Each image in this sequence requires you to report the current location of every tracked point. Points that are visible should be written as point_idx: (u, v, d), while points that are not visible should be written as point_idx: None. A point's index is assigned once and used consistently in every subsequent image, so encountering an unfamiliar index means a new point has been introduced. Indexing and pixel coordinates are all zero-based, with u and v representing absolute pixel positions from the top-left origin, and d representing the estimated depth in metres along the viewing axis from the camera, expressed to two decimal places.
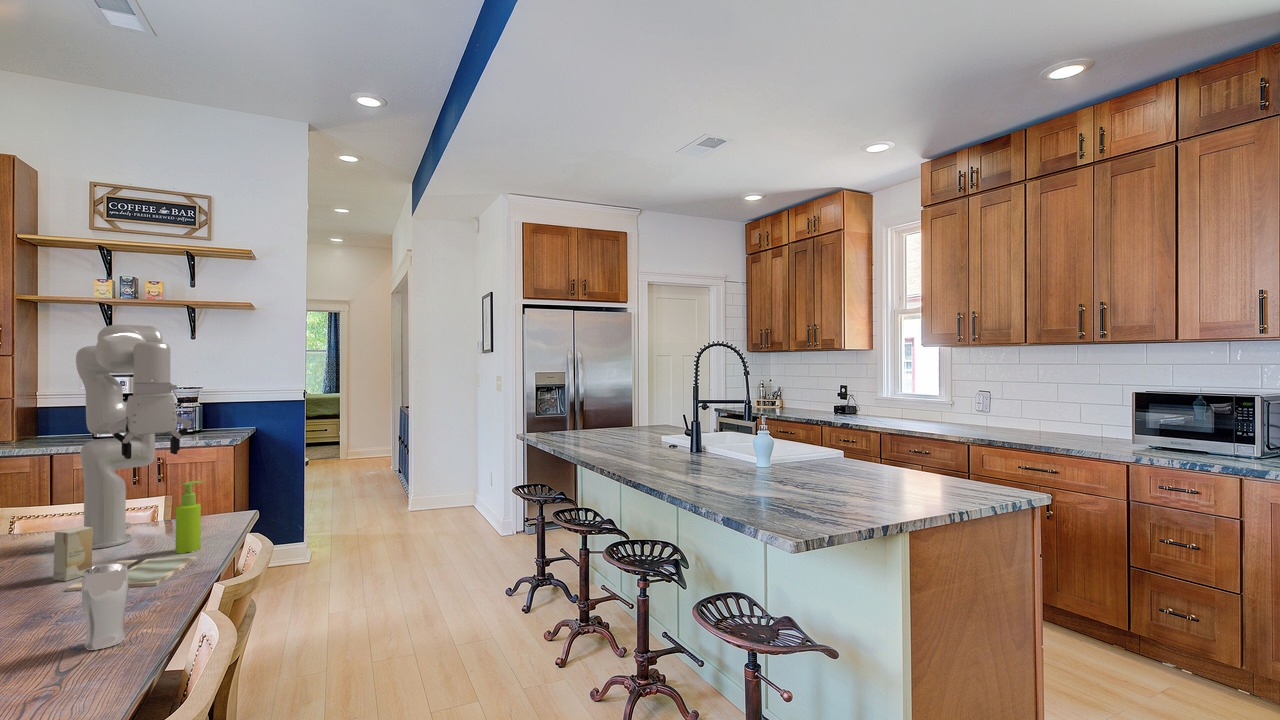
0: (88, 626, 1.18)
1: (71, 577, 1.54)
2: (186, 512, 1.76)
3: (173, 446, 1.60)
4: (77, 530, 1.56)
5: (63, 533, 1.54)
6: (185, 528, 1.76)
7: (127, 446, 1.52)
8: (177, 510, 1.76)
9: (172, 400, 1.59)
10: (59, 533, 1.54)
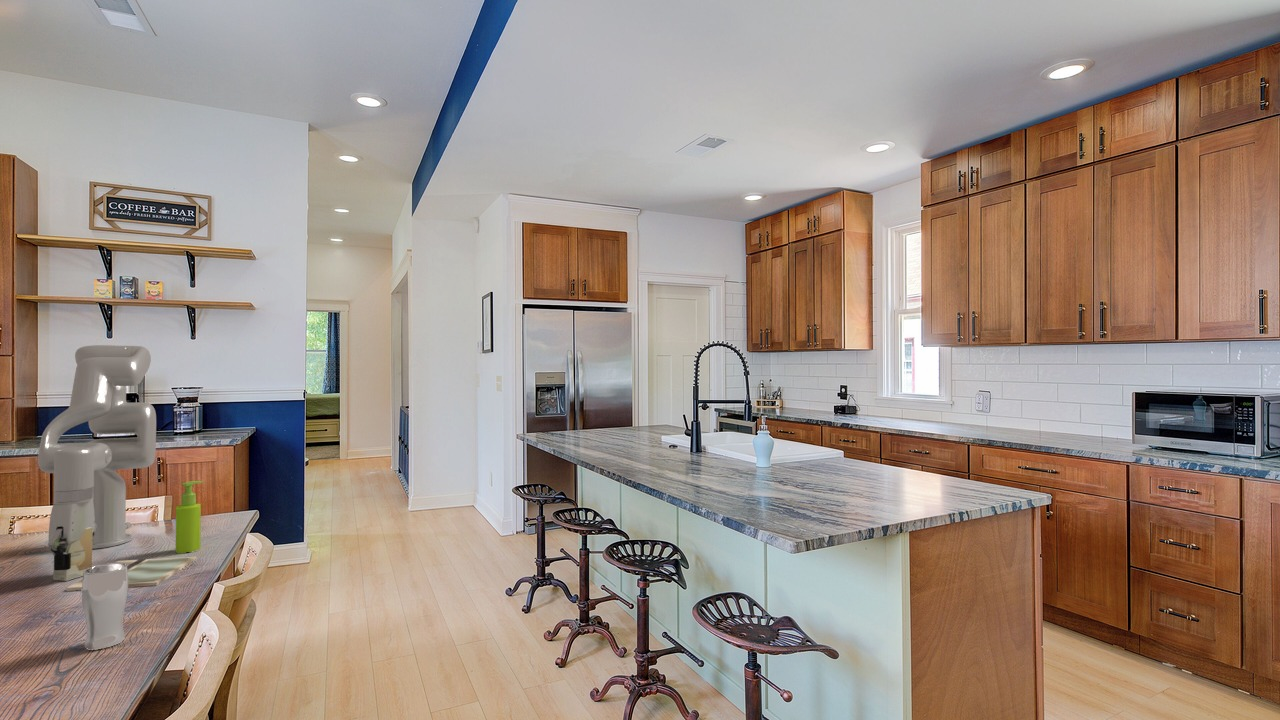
0: (88, 626, 1.18)
1: (71, 577, 1.54)
2: (186, 512, 1.76)
3: None
4: None
5: None
6: (185, 528, 1.76)
7: (68, 556, 1.53)
8: (177, 510, 1.76)
9: (93, 502, 1.61)
10: None
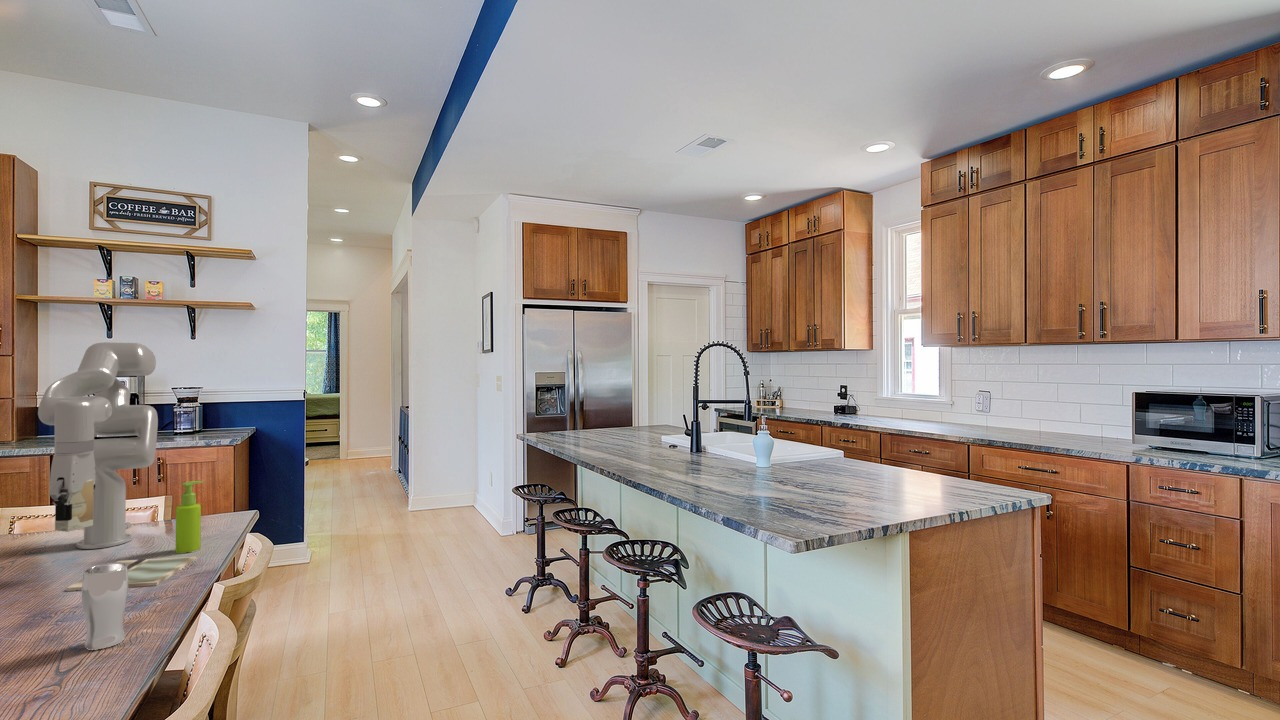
0: (88, 626, 1.18)
1: (73, 528, 1.55)
2: (186, 512, 1.76)
3: None
4: None
5: None
6: (185, 528, 1.76)
7: (69, 507, 1.53)
8: (177, 510, 1.76)
9: (93, 455, 1.61)
10: None
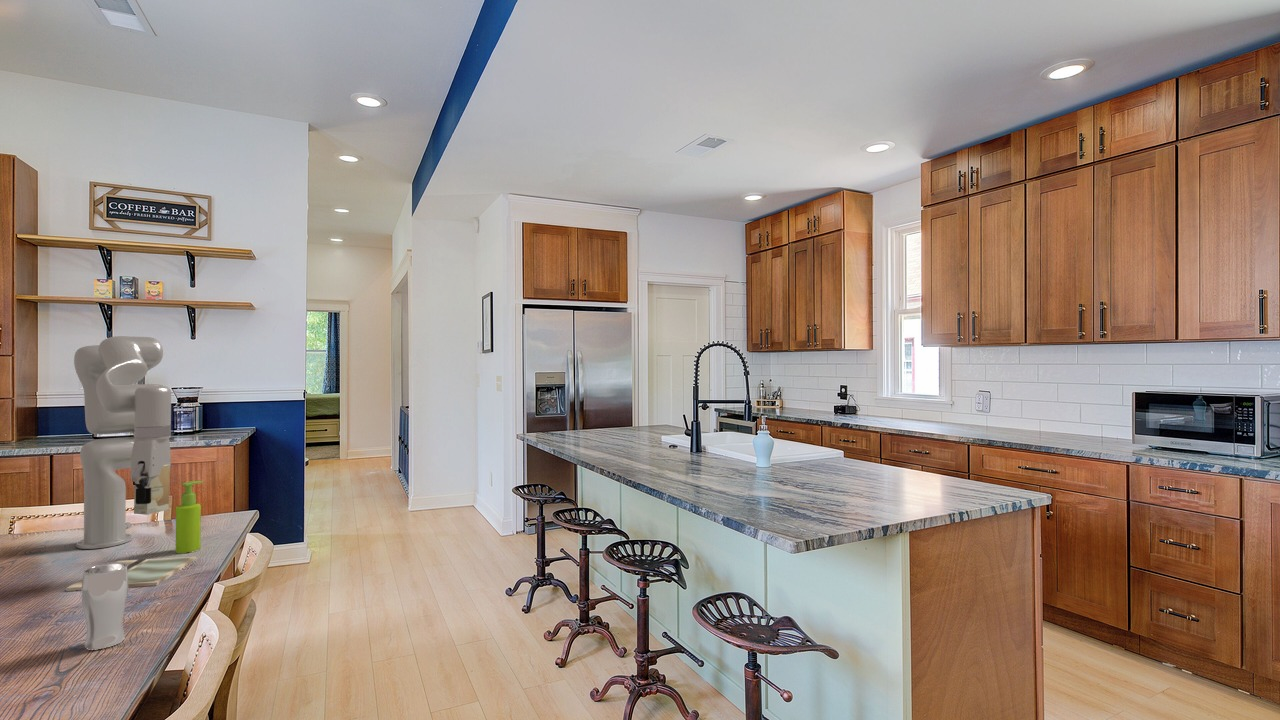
0: (88, 626, 1.18)
1: (151, 511, 1.58)
2: (186, 512, 1.76)
3: None
4: None
5: None
6: (185, 528, 1.76)
7: (149, 490, 1.56)
8: (177, 510, 1.76)
9: None
10: None
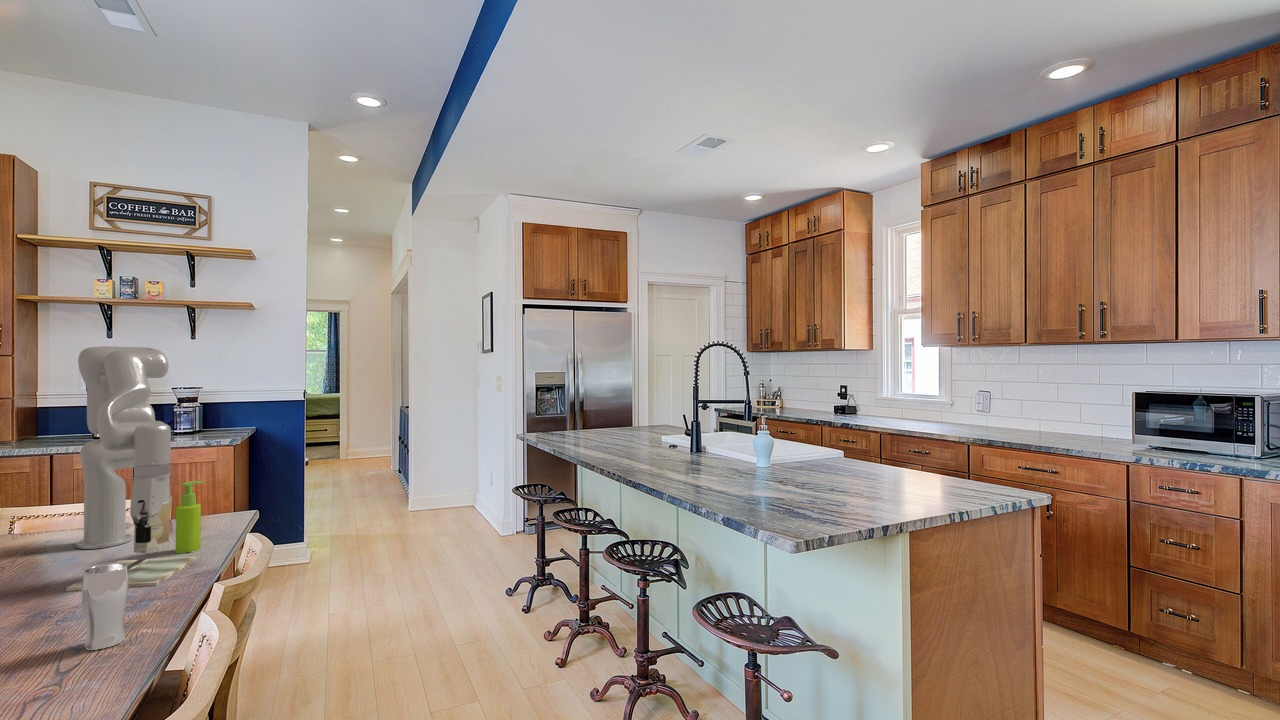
0: (88, 626, 1.18)
1: (151, 550, 1.58)
2: (186, 512, 1.76)
3: None
4: None
5: None
6: (185, 528, 1.76)
7: (149, 529, 1.56)
8: (177, 510, 1.76)
9: None
10: None
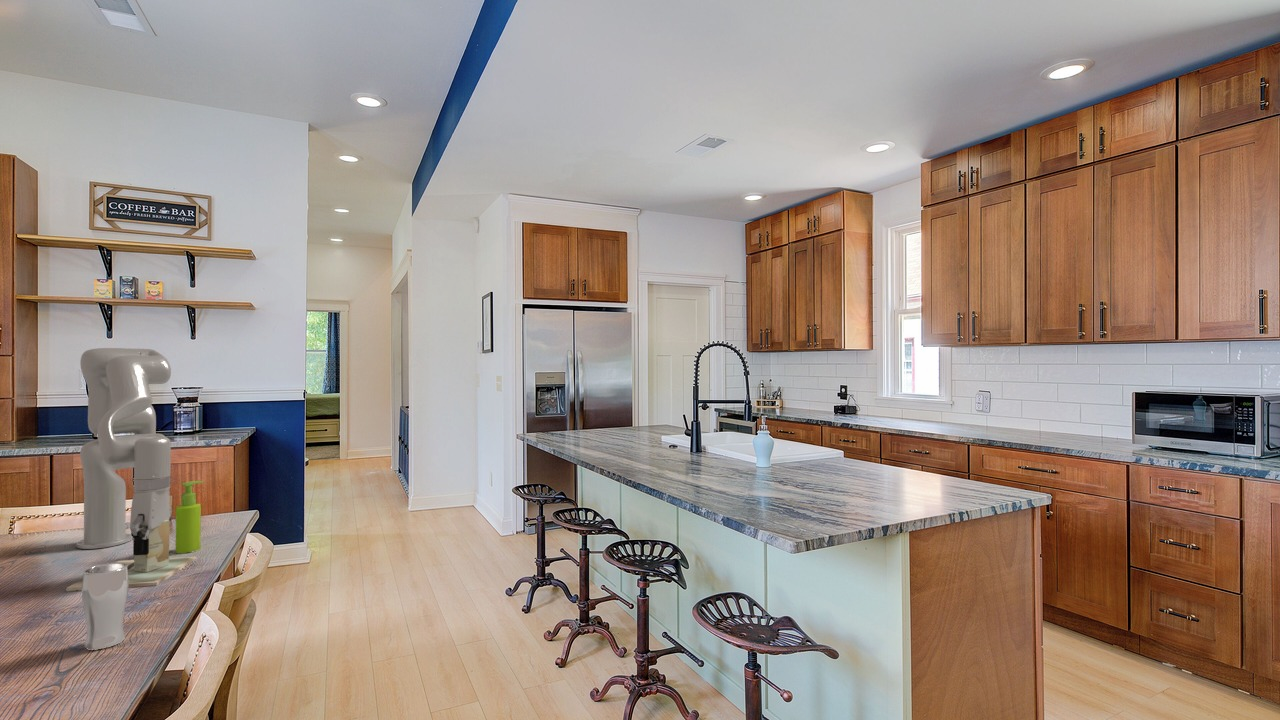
0: (88, 626, 1.18)
1: (151, 568, 1.58)
2: (186, 512, 1.76)
3: None
4: None
5: None
6: (185, 528, 1.76)
7: (147, 541, 1.56)
8: (177, 510, 1.76)
9: None
10: None
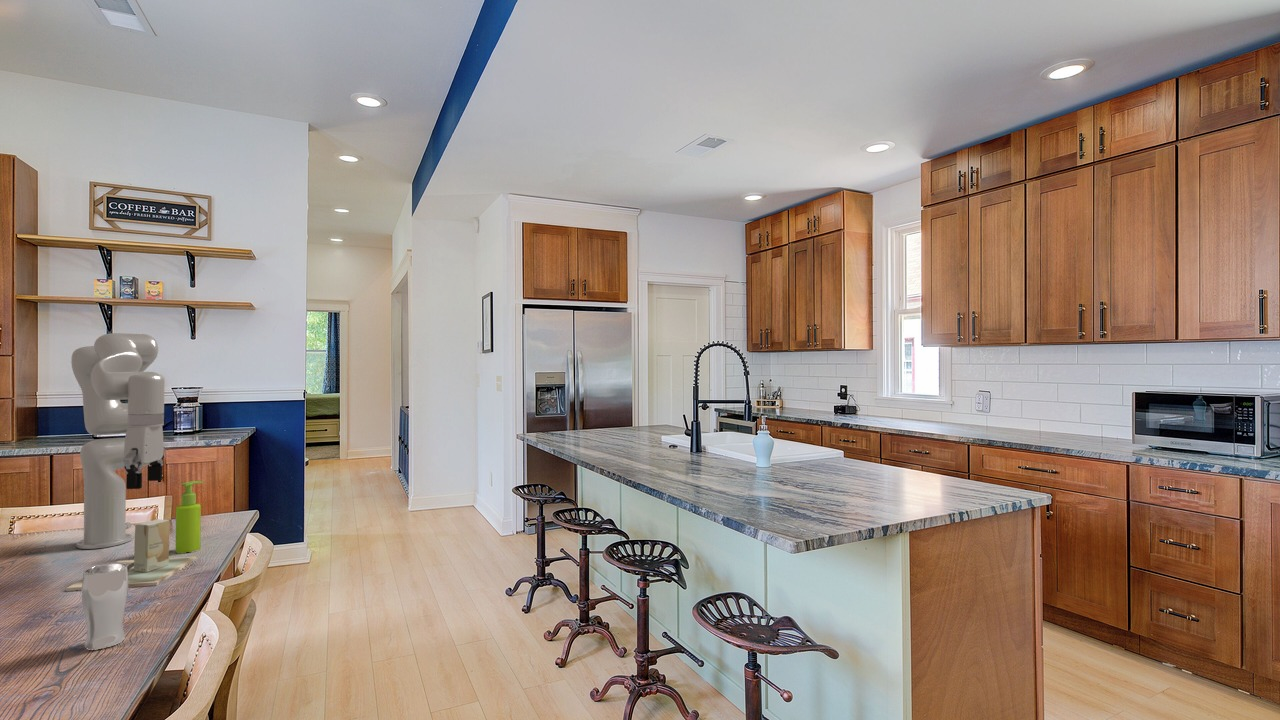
0: (88, 626, 1.18)
1: (151, 568, 1.58)
2: (186, 512, 1.76)
3: (157, 473, 1.66)
4: (156, 522, 1.60)
5: (144, 525, 1.58)
6: (185, 528, 1.76)
7: (140, 476, 1.57)
8: (177, 510, 1.76)
9: (162, 429, 1.66)
10: (139, 525, 1.58)
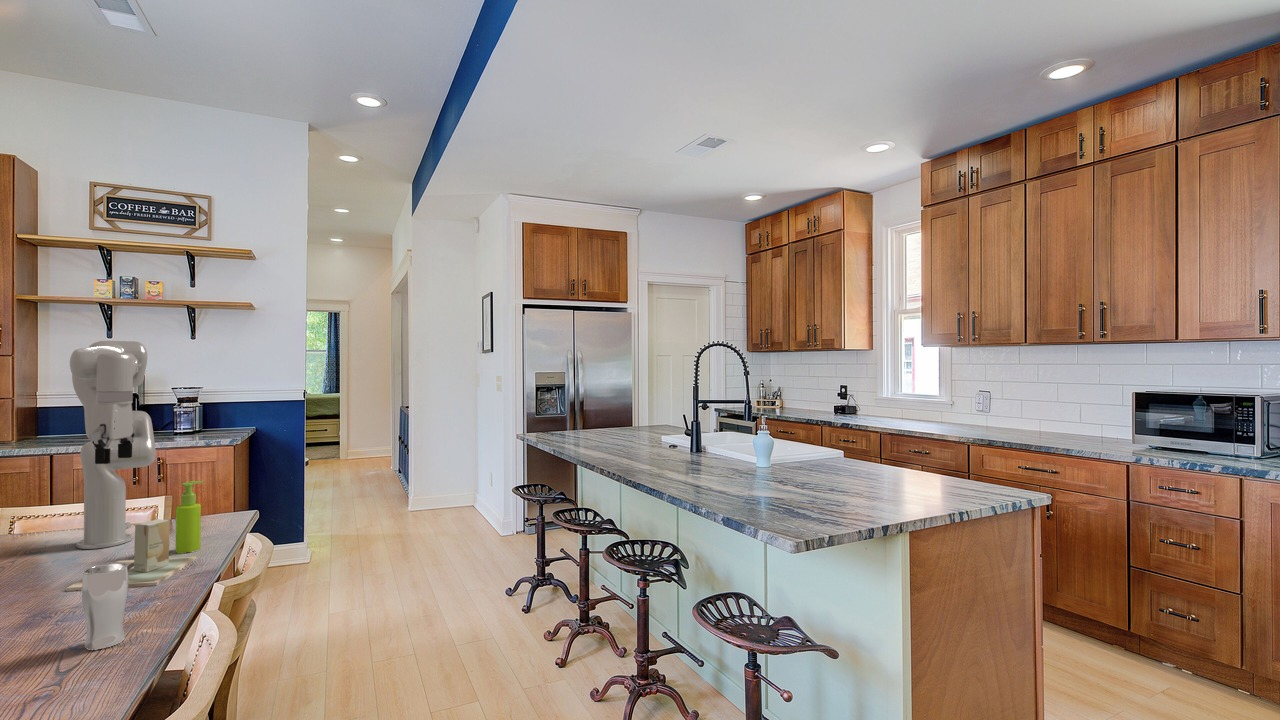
0: (88, 626, 1.18)
1: (151, 568, 1.58)
2: (186, 512, 1.76)
3: (127, 450, 1.71)
4: (156, 522, 1.60)
5: (144, 525, 1.58)
6: (185, 528, 1.76)
7: (108, 451, 1.61)
8: (177, 510, 1.76)
9: (131, 407, 1.70)
10: (139, 525, 1.58)
